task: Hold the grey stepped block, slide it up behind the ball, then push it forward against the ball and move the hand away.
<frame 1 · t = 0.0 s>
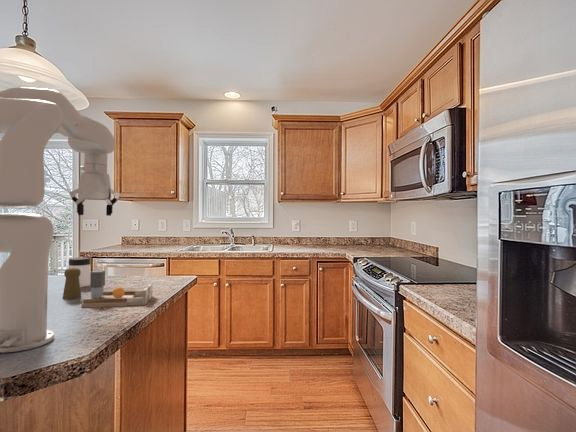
hand: (94, 215, 126), 31 cm above the countertop, tool pointing down, fingers open, 9 cm apart
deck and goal: (122, 301, 122), on the countertop
ball: (118, 292, 122), point 3 cm above the countertop, touching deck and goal
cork: (72, 298, 126), on the countertop
grey stepped block: (97, 284, 120), point 6 cm above the countertop, slide at 0.0 cm
jar: (79, 286, 146), on the countertop
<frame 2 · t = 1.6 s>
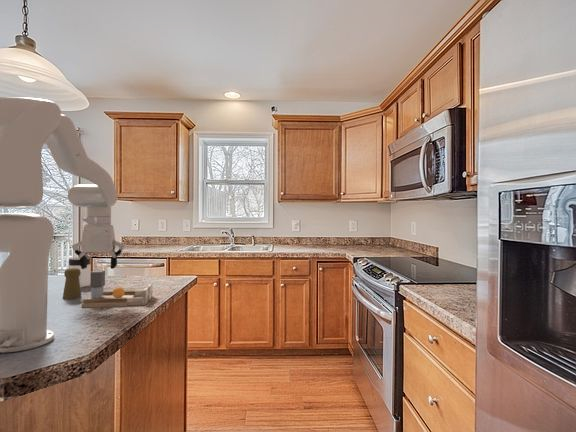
hand: (98, 268, 121), 12 cm above the countertop, tool pointing down, fingers open, 9 cm apart
nothing on the countertop moved.
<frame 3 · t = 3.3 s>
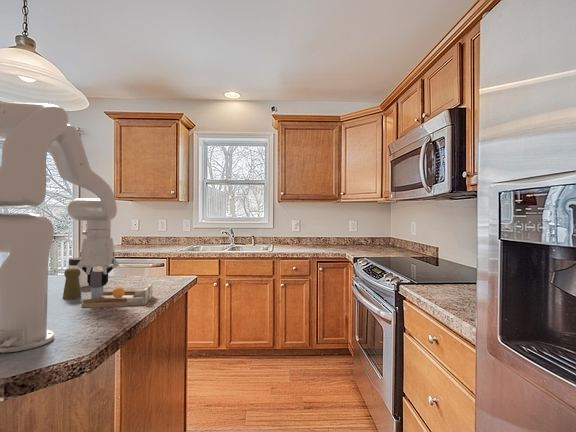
hand: (97, 284, 120), 6 cm above the countertop, tool pointing down, fingers closed on grey stepped block, 3 cm apart
grey stepped block: (97, 284, 120), point 6 cm above the countertop, slide at 0.0 cm, touching gripper
everything else where it was.
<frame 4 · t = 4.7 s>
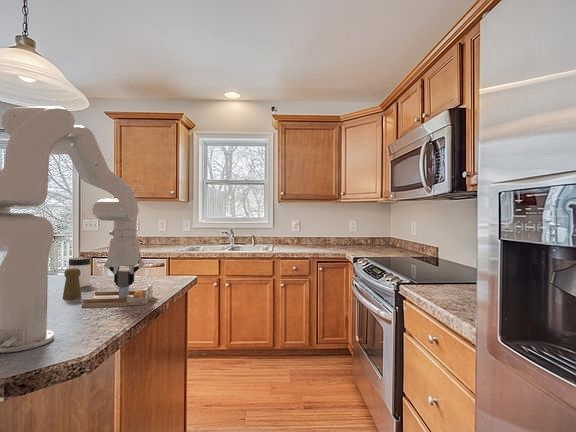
hand: (124, 284, 122), 6 cm above the countertop, tool pointing down, fingers closed on grey stepped block, 3 cm apart
ball: (139, 295, 123), point 2 cm above the countertop, tilted 147°
grey stepped block: (124, 283, 122), point 6 cm above the countertop, slide at 8.9 cm, touching gripper
everything else where it was.
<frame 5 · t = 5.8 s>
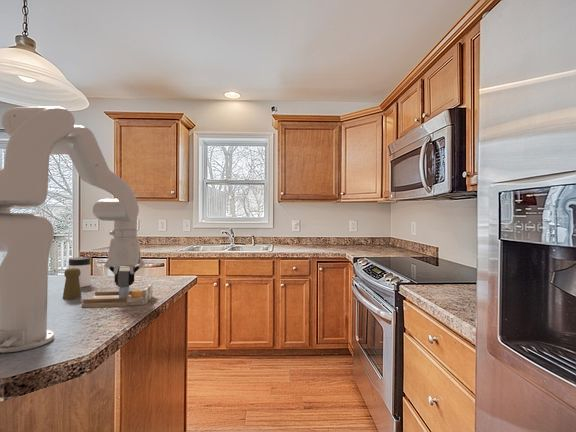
hand: (124, 284, 122), 6 cm above the countertop, tool pointing down, fingers closed on grey stepped block, 3 cm apart
ball: (137, 295, 123), point 2 cm above the countertop, tilted 174°
grey stepped block: (124, 283, 122), point 6 cm above the countertop, slide at 9.0 cm, touching gripper
everything else where it was.
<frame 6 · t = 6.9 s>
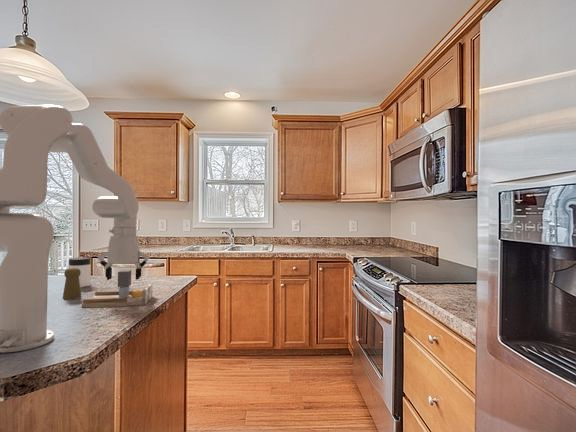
hand: (123, 279, 122), 8 cm above the countertop, tool pointing down, fingers open, 9 cm apart
grey stepped block: (124, 283, 122), point 6 cm above the countertop, slide at 9.0 cm
everything else where it was.
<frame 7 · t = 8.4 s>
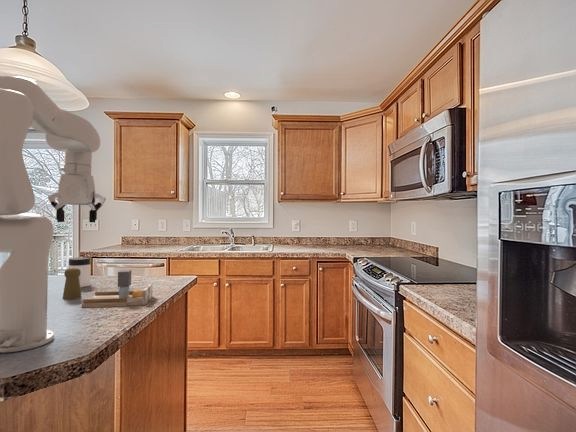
hand: (76, 222, 111), 29 cm above the countertop, tool pointing down, fingers open, 9 cm apart
ball: (137, 295, 123), point 2 cm above the countertop, tilted 167°
everything else where it was.
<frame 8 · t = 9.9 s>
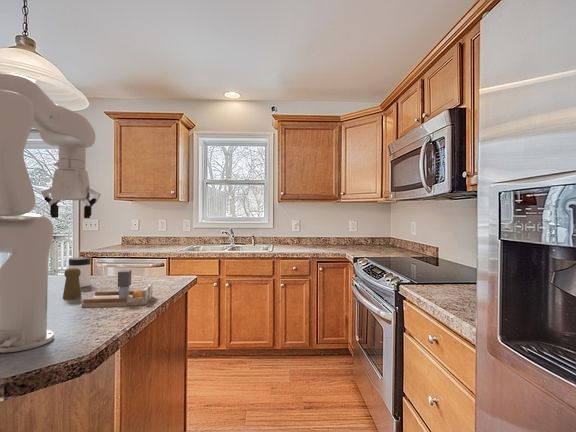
hand: (71, 217, 110), 30 cm above the countertop, tool pointing down, fingers open, 9 cm apart
ball: (138, 295, 123), point 2 cm above the countertop, tilted 162°
everything else where it was.
at the end: ball inside the target area (0.2 cm from its centre), point 2.0 cm above the countertop; grey stepped block slide at 9.0 cm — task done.
